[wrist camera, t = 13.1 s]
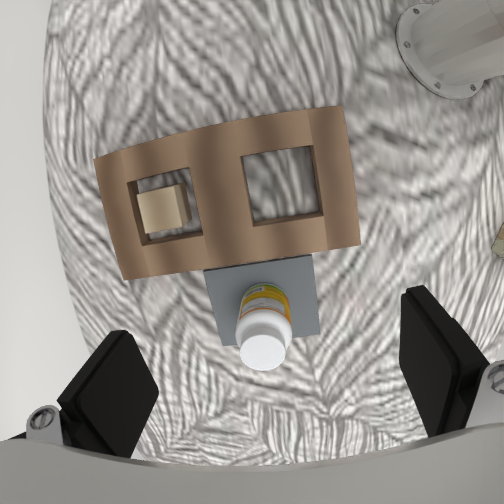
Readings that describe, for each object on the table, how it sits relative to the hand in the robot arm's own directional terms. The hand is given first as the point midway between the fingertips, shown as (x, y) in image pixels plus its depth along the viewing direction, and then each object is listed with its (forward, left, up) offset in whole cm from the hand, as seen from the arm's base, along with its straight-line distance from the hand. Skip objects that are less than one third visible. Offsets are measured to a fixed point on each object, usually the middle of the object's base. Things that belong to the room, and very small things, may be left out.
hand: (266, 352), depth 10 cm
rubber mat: (+2, +10, -24) cm, 26 cm away
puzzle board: (+4, -3, -24) cm, 24 cm away
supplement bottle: (+2, +10, -24) cm, 26 cm away
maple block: (+10, -3, -24) cm, 26 cm away
